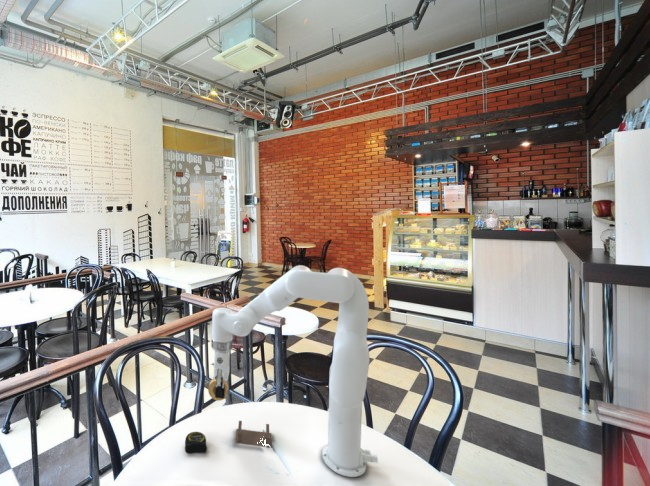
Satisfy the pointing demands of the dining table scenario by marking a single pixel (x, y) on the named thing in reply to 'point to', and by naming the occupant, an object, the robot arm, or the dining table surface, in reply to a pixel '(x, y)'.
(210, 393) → the tape roll
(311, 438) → the dining table surface
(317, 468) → the dining table surface
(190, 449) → the tape measure
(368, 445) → the dining table surface
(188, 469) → the dining table surface
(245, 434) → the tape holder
